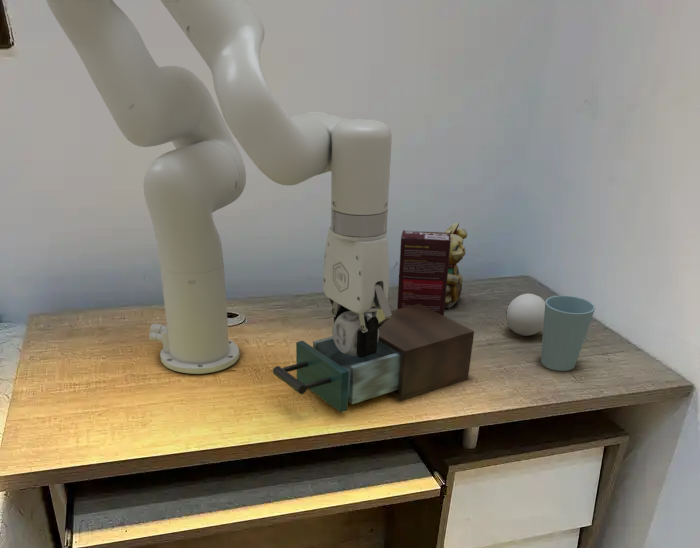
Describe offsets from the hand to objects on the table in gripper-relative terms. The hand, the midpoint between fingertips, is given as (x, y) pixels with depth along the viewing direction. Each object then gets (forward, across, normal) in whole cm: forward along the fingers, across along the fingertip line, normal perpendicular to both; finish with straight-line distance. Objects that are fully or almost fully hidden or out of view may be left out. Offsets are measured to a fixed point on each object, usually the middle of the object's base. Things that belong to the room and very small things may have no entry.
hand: (354, 346), depth 108 cm
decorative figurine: (+7, -21, +35) cm, 42 cm away
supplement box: (+7, -15, +26) cm, 31 cm away
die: (+1, 0, 0) cm, 1 cm away
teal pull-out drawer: (+6, 0, -3) cm, 7 cm away
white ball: (+8, -2, +39) cm, 39 cm away
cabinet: (+7, 0, +11) cm, 13 cm away
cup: (+8, +10, +34) cm, 37 cm away
